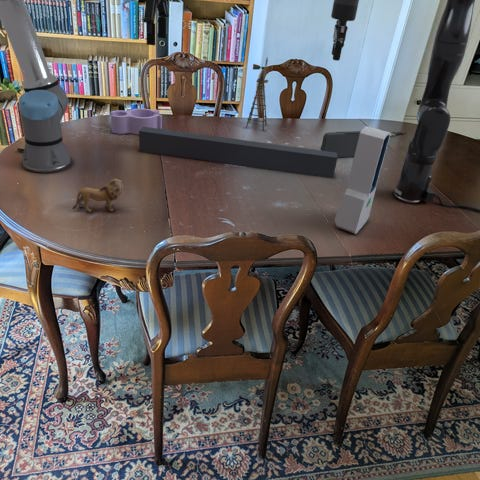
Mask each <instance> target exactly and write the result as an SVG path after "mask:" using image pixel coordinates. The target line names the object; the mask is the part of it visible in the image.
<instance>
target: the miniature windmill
mask: <svg viewBox="0 0 480 480" xmlns="http://www.w3.org/2000/svg"><path fill="white" fill-rule="evenodd" d="M268 59H269V58H268V57H266V59H265V65H264V66H260V65H259V64H256V63H253V64H252V70H255V71H256V70H259V71H260V70H262V71H261V75H260V77H259V78H257V80H256V81H255V82H256V83H258V85H257V86H256V90H255V95H254V97H253V102H252V104H251V107H250V111H249V113H248V114H249V115H248V117H247V119H246V120H247V122H246V125H245V128H248V126H249V123H251V121H254V122H259V123H262V131H265V125H266V126H267V123H268V122H267V118H268V116H267V108H266V107H267V105H266V91H265V90H266V89H265V88H266V86H265V84H267V83H269V79H266V76H267V70H268V67H269V66H268V61H269V60H268ZM260 89H261V91H262V94H258V93H259V90H260ZM257 99H258V100H262V103H261V104H259V103H256V101H257ZM255 106H261V107H262V108H260V107H255ZM254 110H260V111H261V110H262V115H259V114H253V113H254ZM252 116H255V117H260V118H262V120H258V119H252Z"/></svg>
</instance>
